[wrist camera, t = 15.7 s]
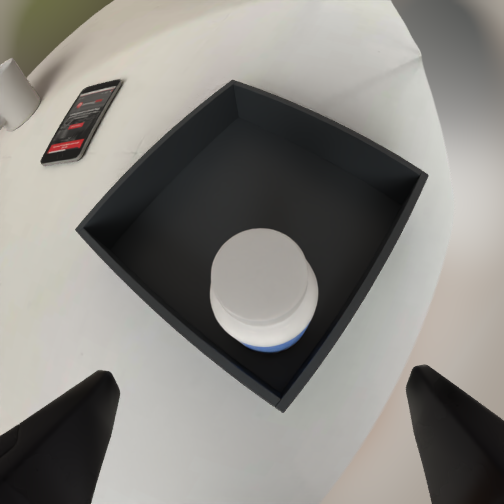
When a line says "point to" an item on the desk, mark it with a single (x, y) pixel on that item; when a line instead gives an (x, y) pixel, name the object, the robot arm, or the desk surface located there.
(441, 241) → the desk surface
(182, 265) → the dark grey storage tray
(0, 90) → the mug
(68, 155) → the smartphone
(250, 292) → the pill bottle
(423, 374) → the robot arm
